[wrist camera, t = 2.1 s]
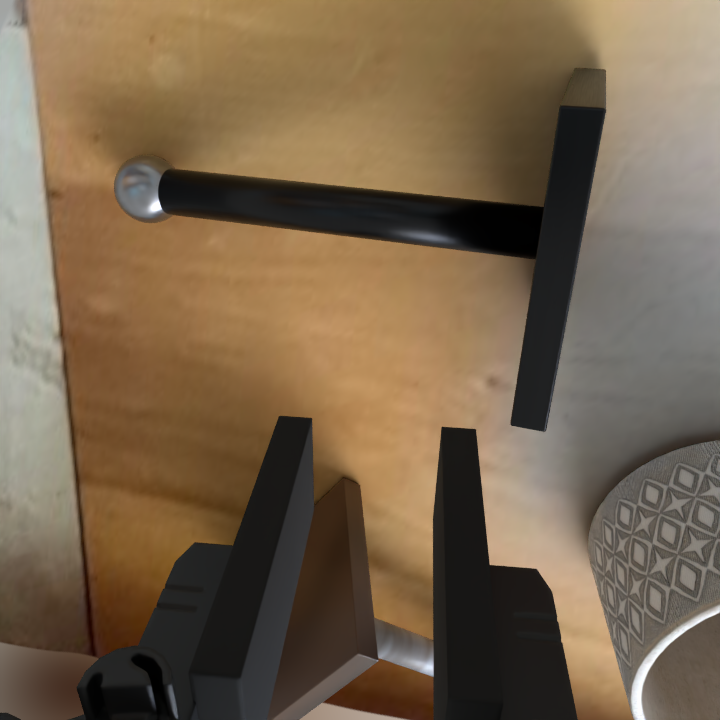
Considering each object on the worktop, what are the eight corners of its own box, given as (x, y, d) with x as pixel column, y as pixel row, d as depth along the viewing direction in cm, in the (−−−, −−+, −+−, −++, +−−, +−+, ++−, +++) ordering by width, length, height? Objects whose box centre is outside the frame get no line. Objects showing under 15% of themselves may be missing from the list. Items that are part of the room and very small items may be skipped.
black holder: (604, 68, 33) (694, 111, 22) (560, 308, 39) (613, 437, 28) (111, 54, 35) (-43, 87, 24) (145, 285, 41) (37, 398, 30)
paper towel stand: (244, 571, 53) (193, 730, 41) (344, 474, 47) (316, 628, 36) (481, 714, 59) (493, 888, 47) (595, 643, 53) (639, 822, 42)
